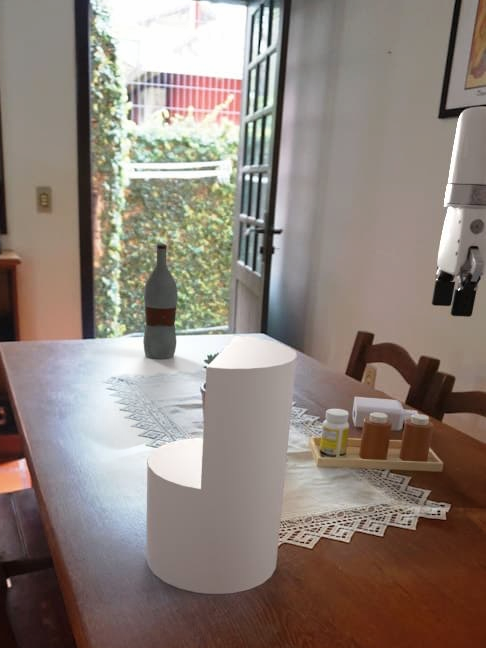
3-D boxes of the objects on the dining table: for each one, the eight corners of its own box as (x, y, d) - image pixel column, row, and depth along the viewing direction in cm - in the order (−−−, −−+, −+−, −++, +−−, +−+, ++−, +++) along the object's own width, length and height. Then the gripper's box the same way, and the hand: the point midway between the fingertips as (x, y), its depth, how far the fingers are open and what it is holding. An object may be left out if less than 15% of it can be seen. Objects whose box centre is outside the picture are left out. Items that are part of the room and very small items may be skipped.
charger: (428, 436, 139) (354, 429, 141) (422, 421, 148) (351, 415, 150) (432, 414, 138) (357, 407, 139) (425, 400, 146) (354, 394, 148)
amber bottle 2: (422, 454, 128) (430, 412, 125) (430, 464, 124) (438, 421, 120) (396, 453, 128) (403, 411, 125) (403, 463, 124) (410, 420, 120)
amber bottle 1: (383, 452, 128) (389, 411, 125) (389, 462, 124) (396, 419, 120) (356, 451, 128) (362, 409, 125) (362, 461, 124) (368, 418, 120)
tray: (423, 450, 131) (425, 441, 131) (441, 474, 121) (443, 463, 120) (308, 446, 131) (309, 436, 130) (316, 468, 121) (318, 458, 120)
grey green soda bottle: (162, 350, 199) (164, 242, 187) (182, 356, 193) (186, 245, 181) (136, 354, 193) (137, 243, 181) (156, 361, 187) (158, 246, 175)
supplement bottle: (340, 450, 128) (345, 407, 125) (349, 459, 124) (355, 415, 121) (315, 450, 127) (320, 408, 124) (324, 460, 123) (329, 416, 120)
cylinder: (283, 537, 97) (303, 341, 86) (266, 604, 81) (288, 375, 70) (166, 520, 100) (171, 329, 89) (128, 581, 85) (128, 359, 74)
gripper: (518, 200, 97) (493, 321, 104) (474, 197, 113) (455, 302, 119) (466, 198, 97) (444, 319, 103) (429, 195, 113) (412, 301, 119)
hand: (450, 310), depth 111 cm, fingers open, 9 cm apart
